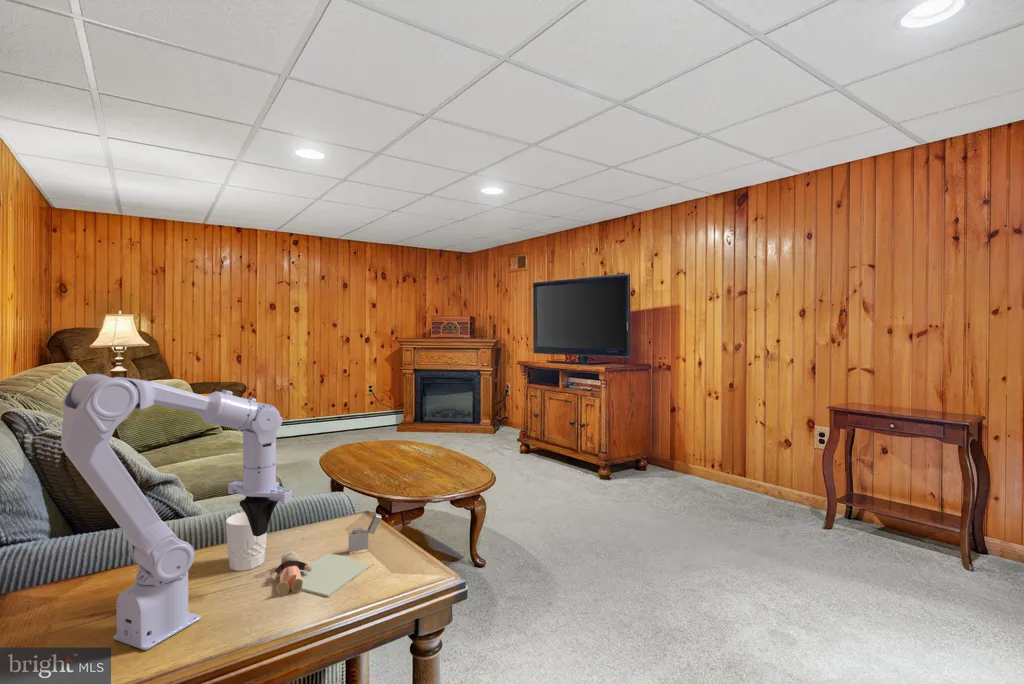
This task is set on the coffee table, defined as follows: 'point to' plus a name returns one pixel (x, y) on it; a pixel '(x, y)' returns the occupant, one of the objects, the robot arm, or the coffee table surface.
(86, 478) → the robot arm
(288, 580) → the grandmother figurine
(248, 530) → the white cup
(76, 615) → the coffee table surface
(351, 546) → the lighter
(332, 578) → the mat
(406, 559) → the coffee table surface
